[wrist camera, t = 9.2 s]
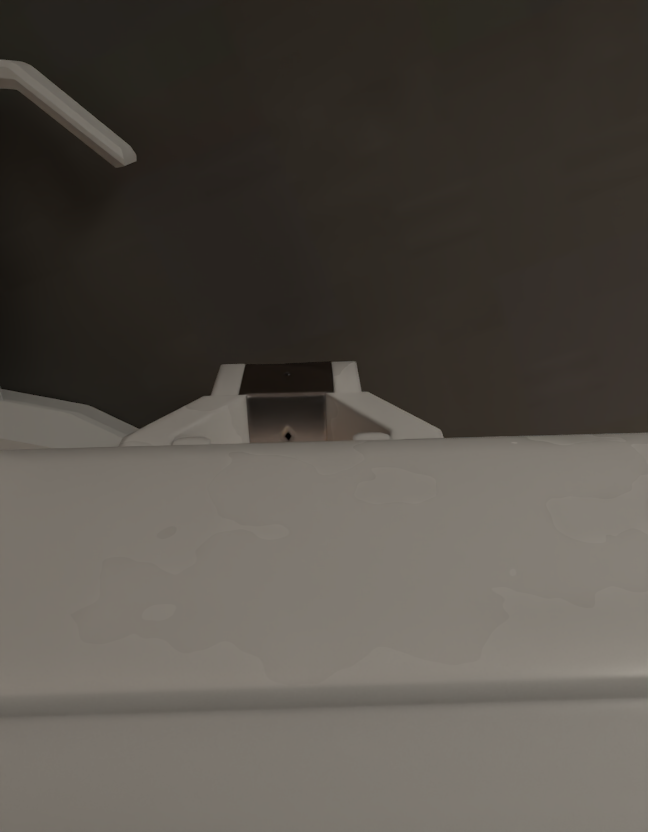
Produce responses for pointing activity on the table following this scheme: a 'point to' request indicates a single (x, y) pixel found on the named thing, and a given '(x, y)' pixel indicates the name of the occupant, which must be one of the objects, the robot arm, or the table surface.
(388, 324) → the table surface
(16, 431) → the frying pan
